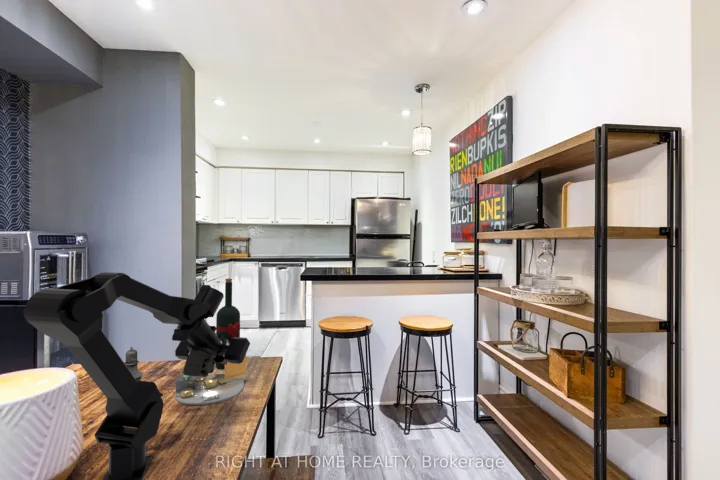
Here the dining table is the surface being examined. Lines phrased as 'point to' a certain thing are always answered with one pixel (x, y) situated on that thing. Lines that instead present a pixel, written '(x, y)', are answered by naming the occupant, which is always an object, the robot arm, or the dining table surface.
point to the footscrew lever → (228, 374)
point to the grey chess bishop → (133, 363)
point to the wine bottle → (228, 319)
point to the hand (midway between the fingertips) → (226, 362)
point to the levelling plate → (205, 390)
